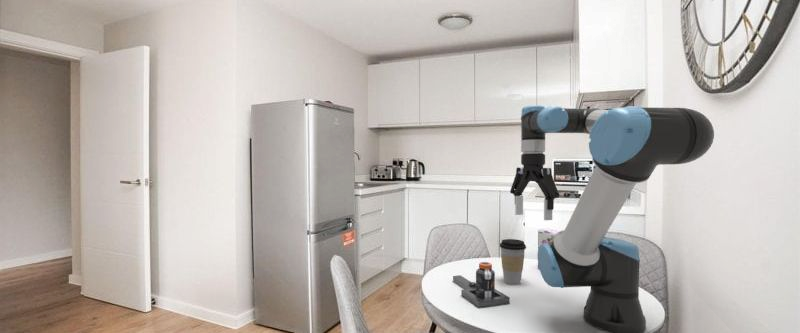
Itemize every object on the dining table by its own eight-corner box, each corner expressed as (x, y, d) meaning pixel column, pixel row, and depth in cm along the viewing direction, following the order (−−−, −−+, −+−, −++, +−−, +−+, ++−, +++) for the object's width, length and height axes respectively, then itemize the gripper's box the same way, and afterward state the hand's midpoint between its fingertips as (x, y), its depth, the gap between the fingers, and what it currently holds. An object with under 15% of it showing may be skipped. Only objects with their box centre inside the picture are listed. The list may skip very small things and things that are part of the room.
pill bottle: (494, 302, 118) (495, 266, 118) (475, 300, 120) (475, 265, 119) (494, 295, 124) (494, 261, 124) (475, 294, 125) (476, 260, 125)
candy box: (536, 269, 156) (537, 229, 155) (547, 267, 158) (548, 228, 158) (564, 278, 143) (564, 235, 143) (575, 276, 146) (575, 234, 145)
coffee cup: (496, 283, 137) (496, 242, 137) (502, 276, 146) (502, 237, 145) (523, 287, 133) (523, 245, 133) (528, 280, 141) (528, 240, 141)
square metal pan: (509, 303, 118) (509, 294, 118) (478, 308, 115) (478, 299, 115) (469, 279, 142) (469, 272, 142) (443, 282, 139) (443, 274, 138)
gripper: (571, 152, 115) (571, 221, 116) (517, 154, 138) (517, 212, 139) (552, 152, 113) (552, 223, 113) (500, 153, 136) (500, 213, 136)
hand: (532, 217), depth 126 cm, fingers open, 13 cm apart
